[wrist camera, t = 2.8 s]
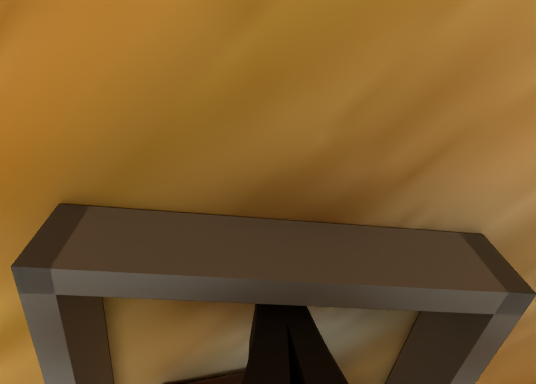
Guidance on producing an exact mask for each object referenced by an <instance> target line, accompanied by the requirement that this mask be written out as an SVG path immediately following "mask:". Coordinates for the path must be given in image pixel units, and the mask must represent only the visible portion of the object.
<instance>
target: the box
mask: <svg viewBox="0 0 536 384" xmlns="http://www.w3.org/2000/svg"><path fill="white" fill-rule="evenodd" d="M244 374H245V372H244V373H239V374H233V375H227V376H223V377H218V378H213V379H208V380H203V381H197V382H192V383H189V384H242V381H243V377H244Z"/></svg>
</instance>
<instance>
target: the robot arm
mask: <svg viewBox="0 0 536 384" xmlns="http://www.w3.org/2000/svg"><path fill="white" fill-rule="evenodd" d="M242 384H349V383H348V382H347V380H346V379H345V377H344V375H343V374H342V372H341V370H340V369H339V367H338V365H337V363H336V362H335V360H334V358H333V356H332V355H331V353H330V351H329V349H328V348H327V346H326V344H325V342H324V340H323V338H322V336H321V334H320V332H319V330H318V329H317V327H316V325H315V323H314V320H313V318H312V316H311V314H310V312H309V310H308V308H307V306H298V305H275V304H255V310H254V316H253V322H252V328H251V335H250V341H249V359H248V363H247V367H246V371H245V374H244V377H243V381H242Z"/></svg>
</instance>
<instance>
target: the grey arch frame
mask: <svg viewBox="0 0 536 384" xmlns="http://www.w3.org/2000/svg"><path fill="white" fill-rule="evenodd" d="M11 269H12V272H13V276H14V279H15V283H16V286H17V289H18V293H19V296H20V300H21V303H22V307H23V310H24V313H25V317H26V320H27V324H28V327H29V330H30V334H31V337H32V341H33V344H34V347H35V351H36V354H37V358H38V361H39V364H40V368H41V371H42V375H43V378H44V382H45V384H114V382H113V375H112V367H111V360H110V353H109V345H108V338H107V331H106V323H105V316H104V309H103V301H102V297H119V298H141V299H164V300H186V301H208V302H231V303H253V304H275V305H298V306H320V307H342V308H365V309H387V310H409V311H421V312H420V314H419V316H418V318H417V320H416V322H415V324H414V326H413V328H412V331H411V333H410V335H409V337H408V339H407V341H406V343H405V345H404V347H403V349H402V351H401V353H400V355H399V357H398V359H397V361H396V363H395V365H394V367H393V369H392V371H391V374H390V376H389V378H388V380H387V382H386V384H475V383H476V381H477V380H478V378H479V377H480V375H481V374H482V372H483V371H484V370H485V368H486V367H487V365H488V364H489V362H490V361H491V359H492V358H493V357H494V355H495V354H496V352H497V351H498V349H499V348H500V346H501V345H502V344H503V342H504V341H505V339H506V338H507V336H508V335H509V333H510V332H511V331H512V329H513V328H514V326H515V325H516V323H517V322H518V320H519V319H520V318H521V316H522V315H523V313H524V312H525V310H526V309H527V307H528V306H529V305H530V303H531V302H532V300H533V299H534V297H535V296H536V293H535V292H534V291H533V290H532V288H531V287H530V286H529V285H528V284H527V283H526V282H525V281H524V280H523V278H522V277H521V276H520V275H519V274H518V273H517V272H516V271H515V270H514V268H513V267H512V266H511V265H510V264H509V263H508V262H507V261H506V260H505V258H504V257H503V256H502V255H501V254H500V253H499V252H498V251H497V249H496V248H495V247H494V246H493V245H492V244H491V243H490V242H489V241H488V239H487V238H486V237H485V236H484V235H483V234H471V233H457V232H443V231H429V230H415V229H401V228H387V227H373V226H359V225H346V224H332V223H318V222H304V221H290V220H276V219H262V218H248V217H235V216H221V215H207V214H193V213H179V212H165V211H151V210H137V209H124V208H110V207H96V206H82V205H68V204H59V205H58V206H57V207H56V208H55V210H54V211H53V212H52V214H51V215H50V216H49V218H48V219H47V220H46V221H45V223H44V224H43V225H42V227H41V228H40V229H39V231H38V232H37V233H36V234H35V236H34V237H33V238H32V240H31V241H30V242H29V244H28V245H27V246H26V247H25V249H24V250H23V251H22V253H21V254H20V255H19V257H18V258H17V259H16V260H15V262H14V263H13V264H12V266H11Z"/></svg>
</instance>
